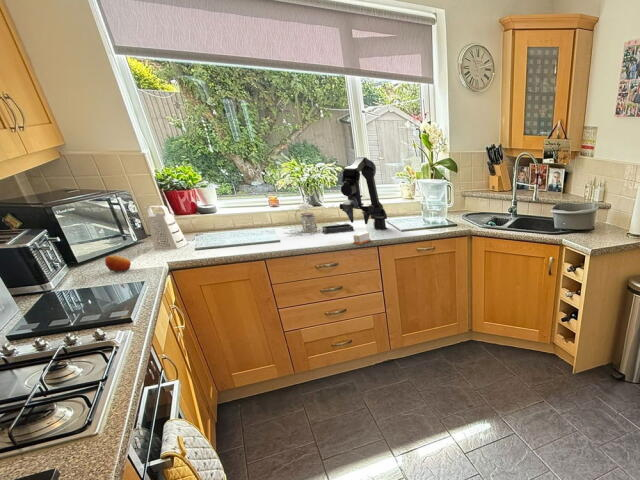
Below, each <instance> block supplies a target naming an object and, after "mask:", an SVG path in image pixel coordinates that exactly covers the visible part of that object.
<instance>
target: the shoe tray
mask: <svg viewBox="0 0 640 480" xmlns="http://www.w3.org/2000/svg"><path fill="white" fill-rule="evenodd" d="M321 229H322V231H323V233H325V234H334V233H343V232H351V231H352V232H353V231H354V226H353V225H352V224H350V223H344V224H335V225H334V224H333V225H323V226H322V227H321Z"/></svg>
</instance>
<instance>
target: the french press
mask: <svg viewBox="0 0 640 480" xmlns="http://www.w3.org/2000/svg"><path fill="white" fill-rule="evenodd" d="M299 189H300V190H301V192H302V194H304V191H303V190H304V186H299ZM302 197H303V198H305V195H302ZM303 200H304V203H303V204H300V205H299V206H298V207H297V208H298V209H297V210H296V211H295V212H294V218H295V219H296V220H298V217H297V214H298V212H299V213H300V215H301V216H300V219H301V221H300V220H298V222H299V223H300V224H301V225H302V230H301V232H304V233H314V232H318V231H320V228H318V225H317V220H316V216H315V214H314V212H308V211H307V210H308V209H313V208H314V205H312V204H309V203H306V201H305V199H303ZM300 209H301V210H305V212H301V210H300Z"/></svg>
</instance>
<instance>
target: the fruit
mask: <svg viewBox="0 0 640 480" xmlns="http://www.w3.org/2000/svg"><path fill="white" fill-rule="evenodd" d="M104 264H105V267H107V269H108V270H109V271H110V272H114V275H116V274H117V273H118V272H128V271H129V270H130V269H131V264H132V263H131V260H130V259H128V258H127V257H125V256H121V255H116V254H113V255H107V256H106V257H105V259H104Z"/></svg>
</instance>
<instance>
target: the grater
mask: <svg viewBox="0 0 640 480" xmlns="http://www.w3.org/2000/svg"><path fill="white" fill-rule="evenodd" d="M152 208H161V209H162V210H163V212H164V213H154V211H153V209H152ZM146 211H147V214H148V215H147V216H146V217H147V221H148V227H149V232H150V235H151V239H152V244H153V249H154V250H177V249H180V248H182V247H183V246H185V245H187V244H188V240H187V239H186V237H185V235H184V233H183V231H182V230H181V228H180V225H179V224H178V222H177V221H176V219H175V217H174V215H173V213H170V211H169V208H168V207H167V206H166V205H149V206H147V208H146Z"/></svg>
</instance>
